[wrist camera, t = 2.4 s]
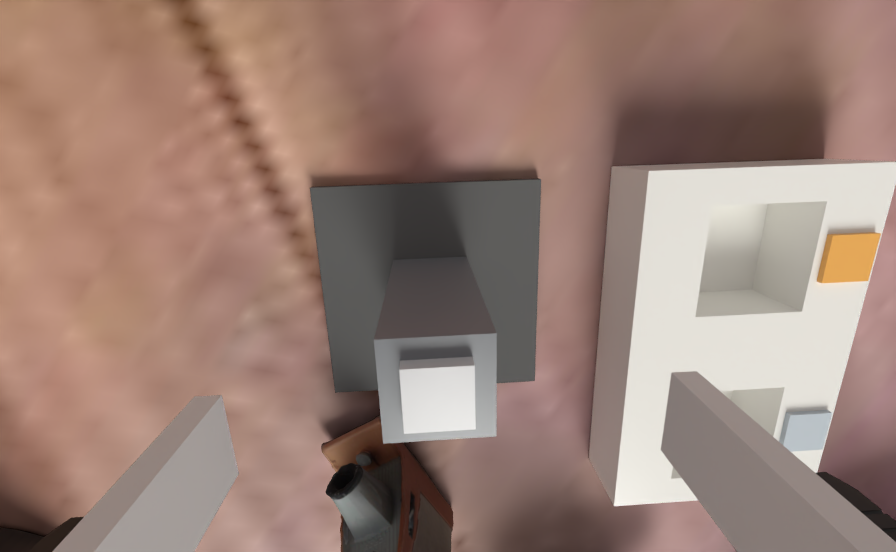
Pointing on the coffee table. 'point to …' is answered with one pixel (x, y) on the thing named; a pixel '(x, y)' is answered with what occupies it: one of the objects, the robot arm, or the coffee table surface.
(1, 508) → the coffee table surface
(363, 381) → the mat
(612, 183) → the socket block
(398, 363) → the plug
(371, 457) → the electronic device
